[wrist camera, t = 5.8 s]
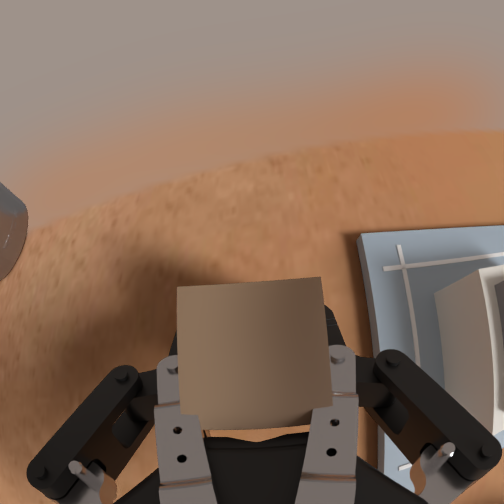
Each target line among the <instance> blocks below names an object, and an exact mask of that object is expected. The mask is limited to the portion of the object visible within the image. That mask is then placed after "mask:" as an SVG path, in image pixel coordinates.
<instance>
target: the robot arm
mask: <svg viewBox="0 0 504 504" xmlns="http://www.w3.org/2000/svg"><path fill="white" fill-rule="evenodd" d="M27 228H28V212H27V208H26V206H25V204H24V203H23V202H22V201H21V200H20V199H19V198H18V197H16V196H15V195H14V194H13V193H12V192H10V190H8V189H7V188H6V187H5V186H4V185H3V184H2V183H0V281H1V280H2V279H3V278H4V277H5V276H6V275H7V274H8V273H9V272H10V270H11V269H12V267H13V266H14V264H15V263H16V261H17V259H18V257H19V255H20V252H21V250H22V247H23V245H24V241H25V238H26V234H27ZM324 307H325V316H326V326H327V335H328V346H329V357H330V369H331V383H332V398H333V406H330V407H323V408H316V409H313V413H312V419H311V425H310V431H309V432H303V433H294V434H286V435H282V436H279V437H276V438H272V439H269V440H265V441H261V442H251V441H245V440H240V439H234V438H230V437H211V435H210V431H209V430H202V428H201V424H200V421H199V417H198V415H185V414H181V411H180V396H179V378H178V352H177V330H176V333H175V337H174V340H173V343H172V346H171V350H170V353H169V356H168V357H166V358H164V359H163V360H161V361H160V362H159V364H158V366H157V369H155V370H152V371H147V372H142V373H138V371H137V370H136V369H135V368H134V367H132V366H129V365H123V366H119V367H116V368H115V369H113V370H112V371H111V372H110V373H109V374H108V375H107V376H106V377H105V378H104V379H103V380H102V382H101V383H100V384H99V385H98V386H97V387H96V388H95V389H94V390H93V392H92V393H91V394H90V395H89V396H88V397H87V398H86V399H85V400H84V402H83V403H82V404H81V405H80V406H79V407H78V408H77V409H76V411H75V412H74V413H73V414H72V415H71V416H70V417H69V418H68V420H67V421H66V422H65V423H64V424H63V425H62V426H61V428H60V429H59V430H58V431H57V432H56V433H55V434H54V436H53V437H52V438H51V439H50V440H49V441H48V442H47V444H46V445H45V446H44V447H43V448H42V449H41V451H40V452H39V453H38V454H37V455H36V456H35V458H34V459H33V460H32V461H31V462H30V464H29V465H28V468H27V479H28V481H29V483H30V484H31V485H32V486H33V487H35V488H36V489H38V490H39V491H40V492H42V493H43V494H44V495H45V496H46V497H48V498H49V499H51V500H52V501H54V502H55V503H57V504H450V503H451V502H452V501H453V500H455V499H456V498H457V497H458V496H459V495H460V494H461V493H463V492H464V491H465V490H467V489H468V488H469V487H471V486H472V485H473V484H474V483H476V482H477V481H478V480H479V479H481V478H482V477H483V476H484V475H485V474H487V473H488V472H489V471H490V470H491V469H492V468H493V467H495V466H496V465H497V464H498V462H499V461H500V459H501V456H502V447H501V444H500V442H499V441H498V440H497V439H496V438H495V437H494V436H493V435H492V434H491V433H490V432H489V431H488V430H487V429H486V428H485V427H484V426H483V425H482V424H481V423H480V422H479V421H477V420H476V419H475V418H474V417H473V416H472V415H471V414H470V413H469V412H468V411H467V410H466V409H465V408H464V407H463V406H461V405H460V404H459V403H458V402H457V401H456V400H455V399H454V398H453V397H452V396H451V395H450V394H449V393H447V392H446V391H445V390H444V389H443V388H442V387H441V386H440V385H439V384H438V383H437V382H435V381H434V380H433V379H432V378H431V377H430V376H429V375H428V374H427V373H426V372H424V371H423V370H422V369H421V368H420V367H419V366H418V365H417V364H416V363H414V362H413V361H412V360H411V359H410V358H409V357H408V356H407V355H405V354H404V353H403V352H401V351H399V350H395V349H387V350H383V351H381V352H380V353H379V354H378V355H377V357H376V358H365V357H360V356H357V355H355V353H354V352H353V351H352V350H351V349H350V348H348V347H346V345H345V342H344V340H343V337H342V335H341V332H340V330H339V327H338V325H337V322H336V320H335V317H334V314H333V312H332V310H330V309H329V308H328V307H327V306H326V305H324ZM358 406H359V407H364V408H365V409H366V411H367V412H368V413H369V414H370V416H371V417H372V418H373V419H374V420H375V422H376V423H377V424H378V425H379V426H380V427H381V429H382V430H383V431H384V432H385V433H386V435H387V436H388V437H389V438H390V439H391V441H392V442H393V443H394V444H395V445H396V446H397V448H398V449H399V450H400V451H401V452H402V454H403V455H404V456H405V457H406V458H407V459H408V461H409V462H410V463H411V464H412V466H411V469H410V479H411V481H412V483H413V485H414V488H415V493H413V492H411V491H410V490H408V489H407V488H405V487H403V486H402V485H400V484H399V483H397V482H395V481H394V480H392V479H391V478H389V477H388V476H386V475H385V474H383V473H382V472H380V471H379V470H377V469H376V468H374V467H373V466H371V465H370V464H368V463H367V462H365V461H364V460H363V459H361V458H360V457H358V456H357V438H358ZM123 411H124V412H123ZM122 412H123V413H122ZM120 415H121V416H120ZM119 416H120V417H119ZM118 417H119V418H118ZM116 420H117V421H116ZM115 421H116V422H115ZM114 422H115V423H114ZM154 424H155V433H156V445H157V456H158V465H159V468H157V469H156V470H155V471H154V472H153V473H151V474H150V475H149V476H148V477H146V478H145V479H144V480H143V481H142V482H140V483H139V484H138V485H137V486H135V487H134V488H133V489H131V490H130V491H129V492H128V493H126V494H125V495H124V496H122V497H121V498H120V499H118V500H117V501H116V502H114V503H113V500H115V499H116V496H117V495H116V492H117V485H116V483H115V480H116V479H117V477H118V476H119V474H120V473H121V472H122V470H123V469H124V467H125V466H126V464H127V463H128V462H129V460H130V459H131V457H132V456H133V454H134V453H135V452H136V450H137V449H138V447H139V446H140V444H141V443H142V441H143V440H144V439H145V437H146V436H147V434H148V433H149V431H150V430H151V428H152V427H153V426H154Z"/></svg>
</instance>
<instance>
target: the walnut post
mask: <svg viewBox="0 0 504 504" xmlns="http://www.w3.org/2000/svg"><path fill="white" fill-rule="evenodd" d="M177 352H178V378H179V396H180V411H181V414H185V415H198V417H199V421H200V424H201V428H202V430H246V429H266V428H280V427H291V426H301V425H309V424H311V419H312V413H313V409H316V408H323V407H330V406H333V398H332V383H331V369H330V357H329V346H328V335H327V326H326V316H325V307H324V299H323V291H322V283H321V277H312V278H300V279H288V280H275V281H262V282H248V283H233V284H217V285H200V286H182V287H177Z"/></svg>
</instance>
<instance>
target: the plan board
mask: <svg viewBox="0 0 504 504" xmlns="http://www.w3.org/2000/svg"><path fill="white" fill-rule="evenodd" d="M356 242H357V247H358V253H359V258H360V263H361V269H362V274H363V280H364V286H365V293H366V299H367V306H368V313H369V321H370V328H371V337H372V346H373V356H374V358H376V357H377V355H378V354H379V353H380V352H381V351H383V350H387V349H395V350H399V351H401V352H403V353H404V354H405V355H407V356H408V357H409V358H410V359H411V360H412V361H413V362H414V363H416V364H417V365H418V366H419V367H420V368H421V369H422V370H423V371H424V372H426V373H427V374H428V375H429V376H430V377H431V378H432V379H433V380H434V381H435V382H437V383H438V384H439V385H440V386H441V387H442V388H443V389H444V390H445V391H446V392H447V393H449V394H450V395H451V396H452V397H453V398H454V399H455V400H456V401H457V402H458V403H459V404H460V405H461V406H463V407H464V408H465V409H466V410H467V411H468V412H469V413H470V414H471V415H472V416H473V417H474V418H475V419H476V420H477V421H479V422H480V423H481V424H482V425H483V426H484V427H485V428H486V429H487V430H488V431H489V432H490V433H491V434H492V435H493V436H494V437H495V438H496V439H497V440H498V441H499V442H500V444H501V447H502V448H504V225H500V226H481V227H462V228H444V229H426V230H410V231H393V232H378V233H362V234H361V235H360V236H359V238H358V239H357V241H356ZM411 466H412V464H411V463H410V462H409V461H408V459H407V458H406V457H405V456H404V455H403V454H402V452H401V451H400V450H399V449H398V448H397V446H396V445H395V444H394V443H393V442H392V441H391V439H390V438H389V437H388V436H387V435H386V433H385V432H384V431H383V430H382V429H381V427H380V426H379V425H378V470H379V471H380V472H382V473H383V474H385V475H386V476H388V477H389V478H391V479H392V480H394V481H395V482H397V483H399V484H400V485H402V486H403V487H405V488H407V489H408V490H410V491H411V492H413V493H414V492H415V488H414V485H413V483H412V481H411V479H410V469H411Z"/></svg>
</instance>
